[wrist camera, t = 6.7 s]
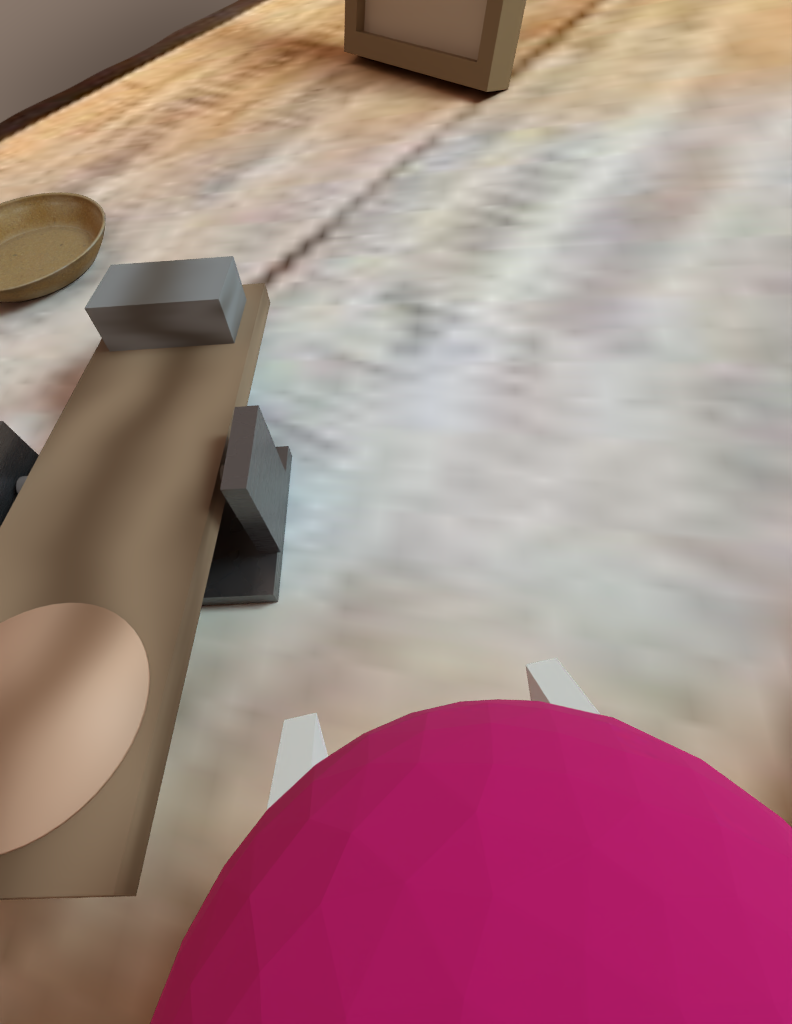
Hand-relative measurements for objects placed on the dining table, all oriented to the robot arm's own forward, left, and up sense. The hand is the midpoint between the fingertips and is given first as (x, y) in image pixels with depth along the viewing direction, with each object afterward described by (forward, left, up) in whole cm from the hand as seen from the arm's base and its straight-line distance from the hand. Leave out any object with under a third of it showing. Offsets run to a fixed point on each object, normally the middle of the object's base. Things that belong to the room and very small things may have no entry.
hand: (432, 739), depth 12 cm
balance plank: (+15, -14, -8) cm, 22 cm away
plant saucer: (+33, -43, -14) cm, 55 cm away
